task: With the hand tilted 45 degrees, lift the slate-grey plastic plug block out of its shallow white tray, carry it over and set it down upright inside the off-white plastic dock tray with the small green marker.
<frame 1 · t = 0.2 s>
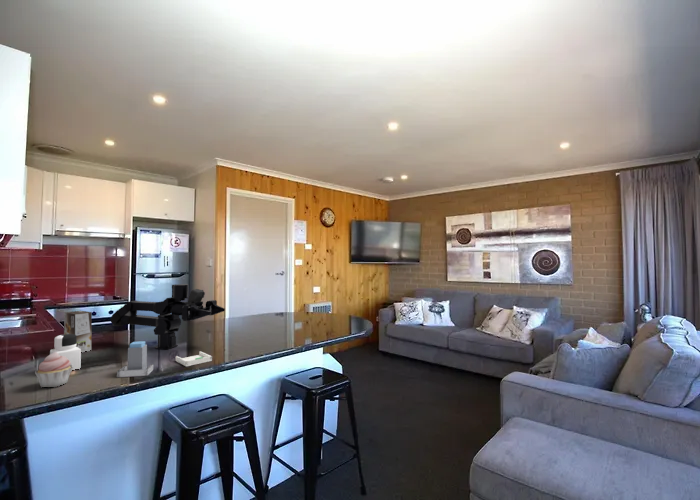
hand: (217, 311, 148), 17 cm above the countertop, tool horizontal, fingers open, 9 cm apart
fibre plug: (137, 357, 123), in the shallow white tray
cupcake: (54, 385, 110), on the countertop
dock tray: (193, 360, 136), on the countertop
shallow white tray: (137, 372, 123), on the countertop
medicine bottle: (65, 370, 125), on the countertop
coffee box: (77, 351, 149), on the countertop
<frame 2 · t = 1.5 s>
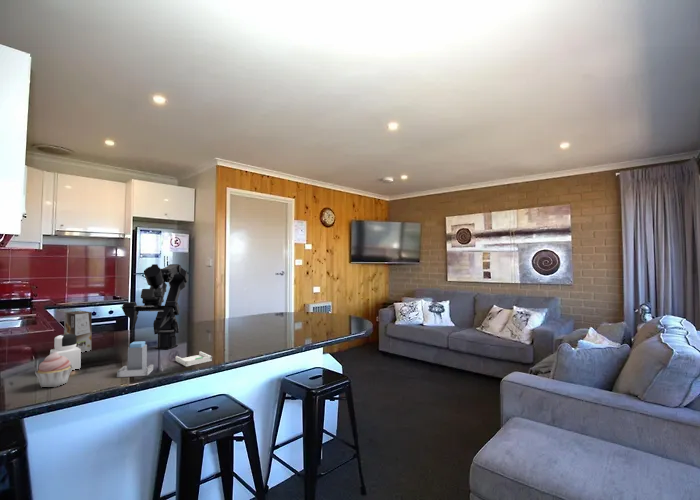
hand: (146, 327, 130), 13 cm above the countertop, tool tilted 45°, fingers open, 9 cm apart
nothing on the countertop moved.
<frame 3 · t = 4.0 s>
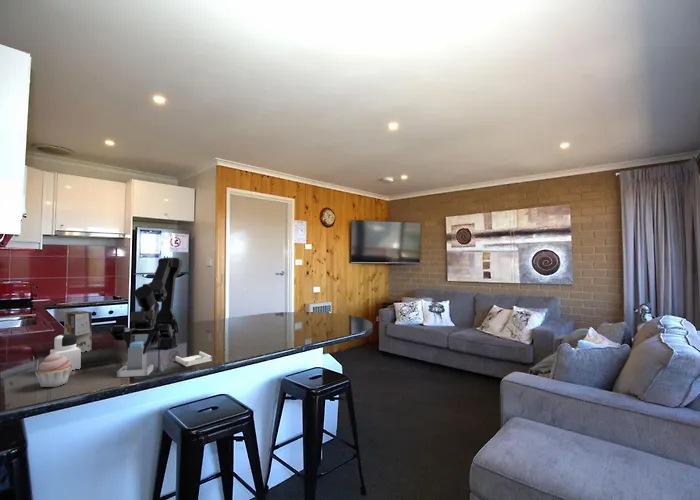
hand: (135, 353, 121), 7 cm above the countertop, tool tilted 45°, fingers closed on fibre plug, 4 cm apart
fibre plug: (137, 357, 123), in the shallow white tray, touching gripper
everything else where it was.
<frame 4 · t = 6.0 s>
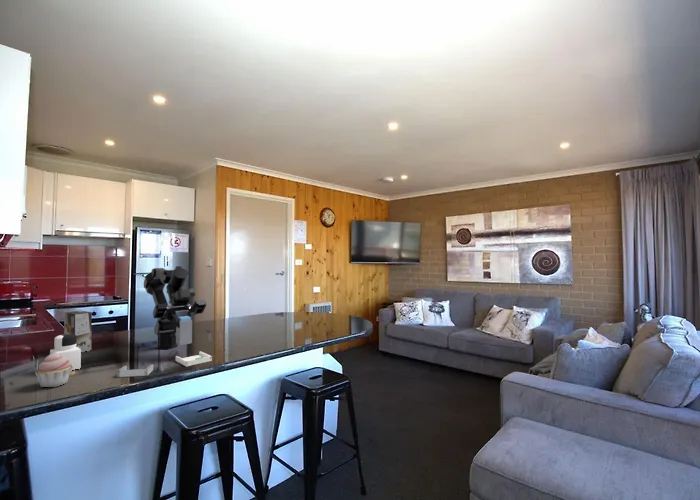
hand: (185, 326, 138), 12 cm above the countertop, tool tilted 45°, fingers closed on fibre plug, 4 cm apart
fibre plug: (184, 330, 139), point 11 cm above the countertop, touching gripper
everything else where it was.
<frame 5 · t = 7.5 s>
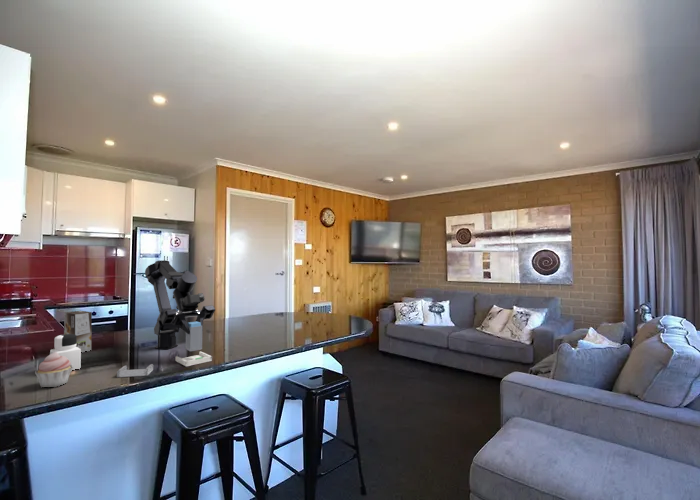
hand: (195, 332, 135), 11 cm above the countertop, tool tilted 45°, fingers closed on fibre plug, 4 cm apart
fibre plug: (193, 335, 136), point 9 cm above the countertop, touching gripper
everything else where it was.
when the fingers open (8 cm above the countertop, at t = 8.4 s): fibre plug stays where it is, resting on dock tray.
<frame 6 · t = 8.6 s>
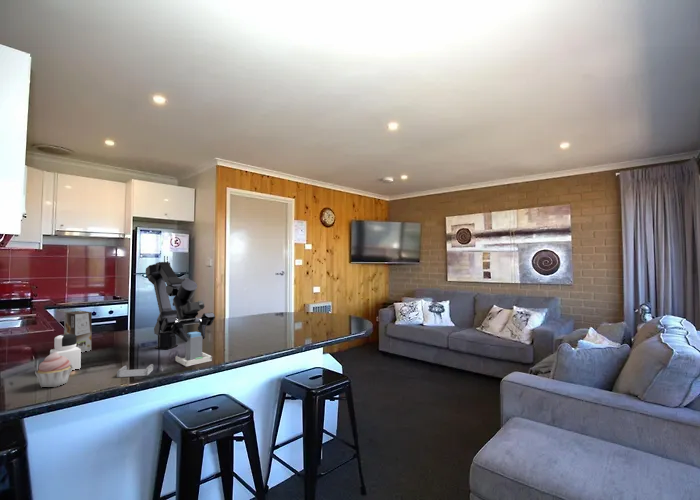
hand: (195, 340, 135), 8 cm above the countertop, tool tilted 45°, fingers open, 6 cm apart
fibre plug: (193, 346, 136), in the dock tray
everything else where it was.
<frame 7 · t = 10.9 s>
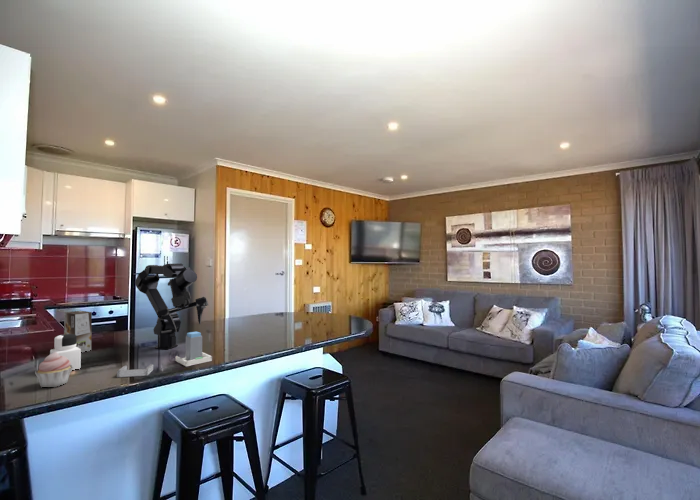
hand: (188, 327, 146), 10 cm above the countertop, tool tilted 25°, fingers open, 9 cm apart
nothing on the countertop moved.
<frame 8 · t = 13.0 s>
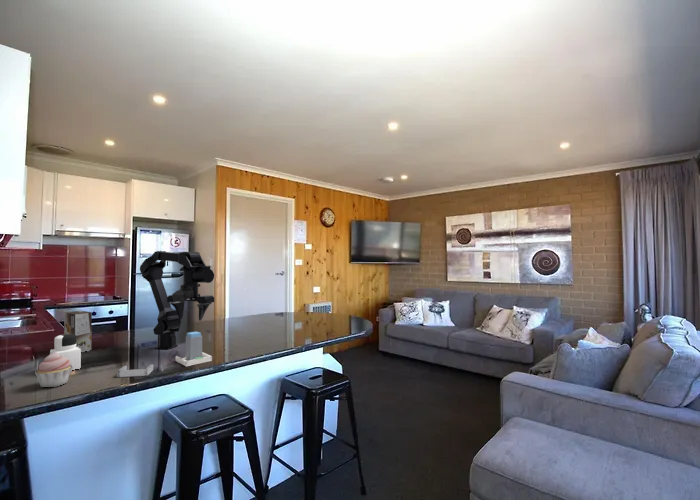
hand: (190, 319, 149), 13 cm above the countertop, tool pointing down, fingers open, 9 cm apart
nothing on the countertop moved.
at the end: fibre plug inside the target area on the dock tray (0.0 cm from its centre), point 5.5 cm above the dock tray's base; fibre plug tilted 0°; the gripper is holding nothing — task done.
